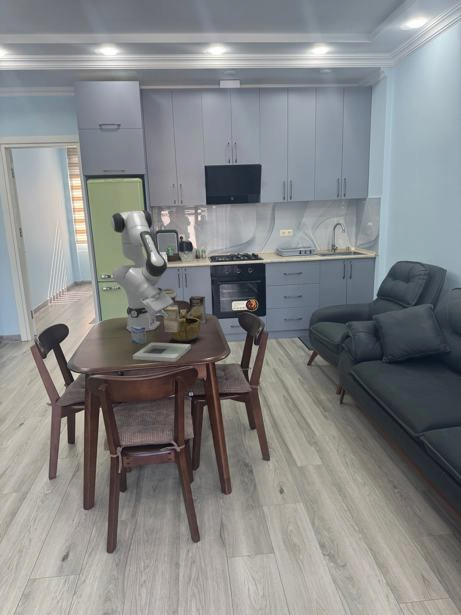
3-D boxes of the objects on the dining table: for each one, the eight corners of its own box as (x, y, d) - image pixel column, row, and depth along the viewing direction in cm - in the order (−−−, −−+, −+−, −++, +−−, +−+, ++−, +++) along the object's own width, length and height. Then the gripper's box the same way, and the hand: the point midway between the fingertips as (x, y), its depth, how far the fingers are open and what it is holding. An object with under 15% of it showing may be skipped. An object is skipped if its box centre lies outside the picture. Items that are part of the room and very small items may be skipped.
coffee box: (190, 323, 260) (188, 298, 257) (192, 320, 267) (190, 296, 263) (204, 323, 259) (203, 298, 255) (206, 320, 265) (205, 296, 262)
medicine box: (131, 342, 228) (130, 326, 226) (138, 340, 231) (137, 325, 229) (139, 344, 223) (138, 329, 221) (146, 342, 226) (145, 327, 224)
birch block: (168, 329, 205) (166, 307, 202) (179, 329, 203) (178, 307, 201) (164, 331, 201) (163, 309, 199) (176, 332, 200) (174, 309, 197)
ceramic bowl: (170, 335, 237) (168, 309, 234) (200, 333, 238) (199, 307, 235) (168, 347, 215) (165, 319, 212) (201, 345, 216) (199, 317, 213)
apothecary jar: (161, 318, 276) (159, 292, 272) (159, 314, 287) (157, 288, 283) (179, 316, 278) (177, 290, 274) (177, 312, 290) (175, 287, 286)
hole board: (151, 346, 219) (151, 341, 219) (190, 348, 213) (190, 343, 213) (133, 359, 201) (132, 354, 200) (175, 361, 195) (175, 357, 194)
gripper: (143, 295, 190) (165, 316, 190) (163, 287, 210) (182, 306, 209) (136, 304, 193) (157, 326, 192) (155, 295, 212) (174, 315, 211)
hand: (170, 315), depth 201 cm, fingers closed on birch block, 4 cm apart
